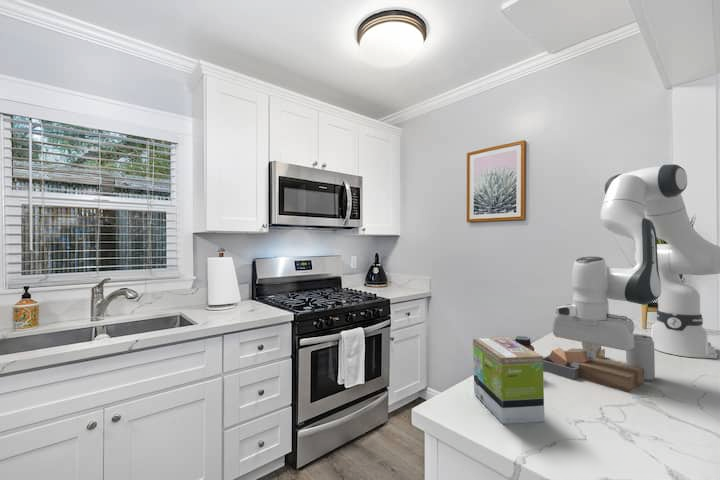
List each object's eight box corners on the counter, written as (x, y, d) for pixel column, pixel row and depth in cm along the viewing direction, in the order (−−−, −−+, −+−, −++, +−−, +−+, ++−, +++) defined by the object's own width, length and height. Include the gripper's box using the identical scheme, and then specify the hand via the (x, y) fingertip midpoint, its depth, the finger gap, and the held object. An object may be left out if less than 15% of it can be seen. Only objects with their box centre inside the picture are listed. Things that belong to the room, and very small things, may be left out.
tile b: (574, 358, 105) (571, 348, 105) (591, 359, 101) (589, 348, 101) (566, 361, 102) (564, 351, 103) (584, 362, 98) (581, 351, 99)
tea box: (472, 394, 87) (471, 337, 87) (509, 393, 87) (508, 336, 88) (501, 425, 72) (501, 356, 72) (546, 423, 72) (545, 354, 73)
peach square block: (574, 358, 105) (570, 365, 106) (559, 347, 108) (555, 354, 110) (567, 361, 102) (562, 369, 103) (552, 350, 106) (547, 357, 107)
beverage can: (660, 382, 94) (659, 339, 94) (634, 380, 95) (633, 338, 95) (646, 373, 100) (645, 333, 100) (621, 372, 101) (621, 332, 102)
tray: (562, 359, 113) (562, 350, 113) (598, 368, 105) (597, 358, 105) (537, 369, 104) (537, 359, 104) (574, 380, 96) (574, 369, 96)
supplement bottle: (534, 374, 100) (534, 336, 100) (535, 381, 95) (535, 341, 95) (512, 371, 103) (512, 334, 103) (512, 378, 97) (512, 338, 97)
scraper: (591, 354, 118) (591, 320, 119) (604, 357, 115) (604, 322, 115) (579, 359, 113) (578, 324, 113) (592, 363, 109) (591, 326, 110)
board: (594, 370, 103) (594, 357, 103) (643, 383, 93) (643, 368, 93) (578, 378, 97) (578, 364, 97) (629, 392, 87) (629, 377, 87)
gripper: (637, 315, 93) (638, 366, 92) (558, 305, 109) (559, 348, 109) (629, 318, 89) (631, 371, 89) (549, 307, 106) (550, 351, 105)
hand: (591, 358), depth 99 cm, fingers closed
